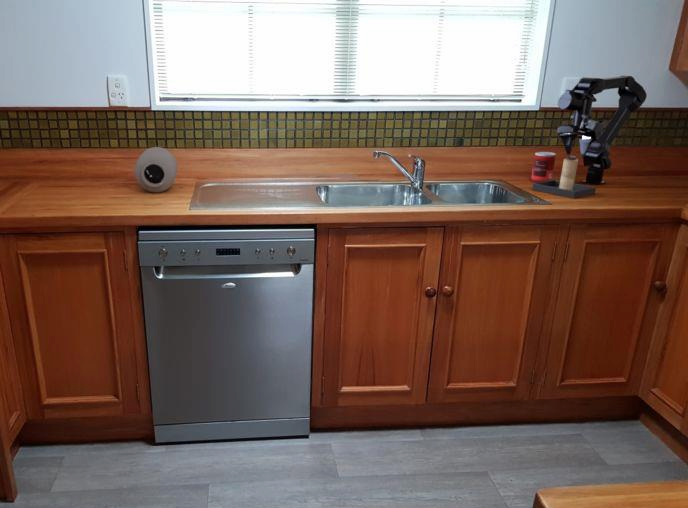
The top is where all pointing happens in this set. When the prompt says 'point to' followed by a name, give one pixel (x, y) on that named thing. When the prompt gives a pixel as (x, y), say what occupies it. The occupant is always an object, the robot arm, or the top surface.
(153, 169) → the grey egg shaped device
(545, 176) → the canned food
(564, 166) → the pepper mill
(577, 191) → the tray
